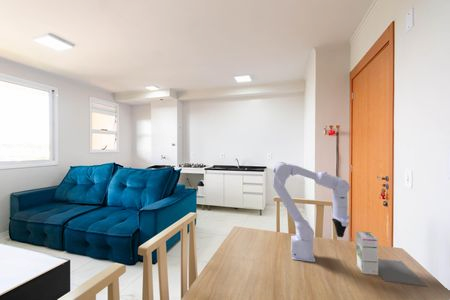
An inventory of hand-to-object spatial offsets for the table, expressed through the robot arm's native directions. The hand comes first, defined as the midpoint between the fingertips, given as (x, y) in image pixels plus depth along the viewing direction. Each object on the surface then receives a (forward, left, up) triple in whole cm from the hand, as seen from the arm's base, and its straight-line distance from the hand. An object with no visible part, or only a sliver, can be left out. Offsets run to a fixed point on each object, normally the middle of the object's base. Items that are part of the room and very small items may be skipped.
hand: (340, 236), depth 91 cm
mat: (+18, -4, -10) cm, 21 cm away
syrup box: (+8, -6, -10) cm, 15 cm away
